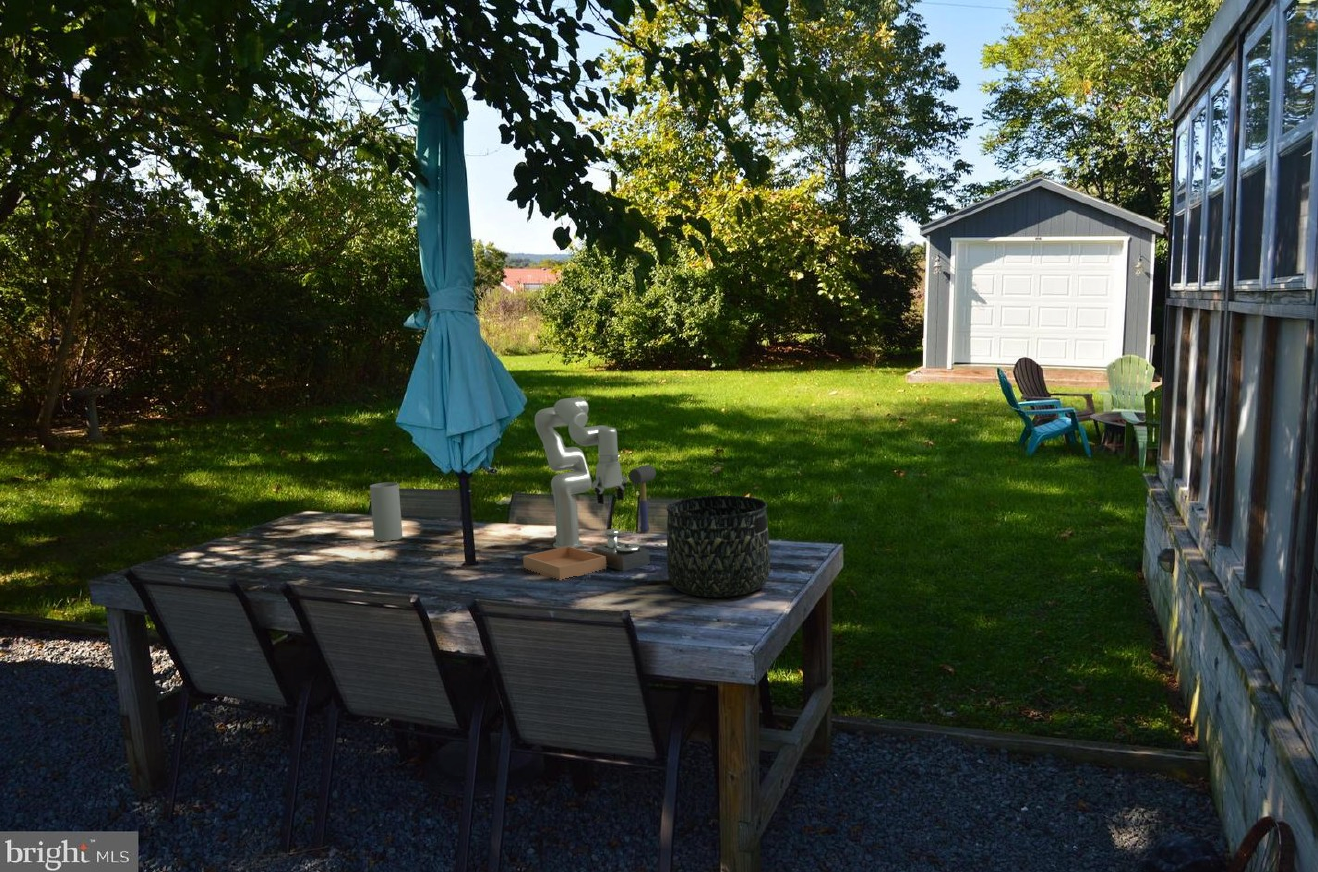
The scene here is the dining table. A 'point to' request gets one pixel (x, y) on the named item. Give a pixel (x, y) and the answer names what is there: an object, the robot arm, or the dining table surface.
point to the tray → (564, 562)
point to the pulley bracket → (623, 556)
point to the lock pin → (612, 538)
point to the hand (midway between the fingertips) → (610, 501)
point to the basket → (718, 545)
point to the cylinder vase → (386, 511)
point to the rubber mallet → (643, 490)
